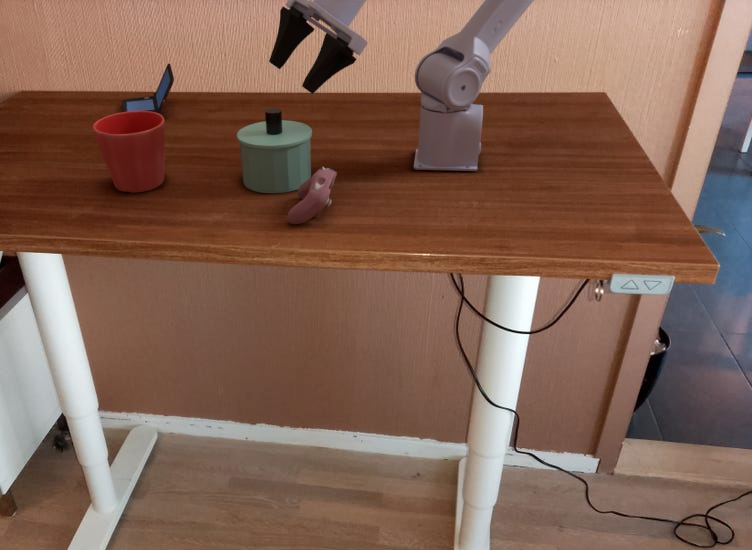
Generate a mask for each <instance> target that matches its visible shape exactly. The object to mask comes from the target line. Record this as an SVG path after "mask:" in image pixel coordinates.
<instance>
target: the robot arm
mask: <svg viewBox="0 0 752 550" xmlns="http://www.w3.org/2000/svg"><path fill="white" fill-rule="evenodd" d="M534 1H535V0H484V1H483V2H482V4H481V5H480V6H479V7H478V9H477V10H476V11H475V13H474V14H473V15H472V16H471V18H470V19H469V20H468V21H467V23H466V24H465V25H464V27H463V28H462V29H461V31H459V32H457V33H455V34H453V35H451V36H449V37H447V38H445V39H443V40H442V41H441V42H440V44H439V45H438V46H437V47H436V48H435V49H434V50H433V51H431V52H429V53H427V54H425V55H424V56H422V58H421V59H420V61H419V62H418V63H417V65H416V67H415V71H414V82H415V86H416V88H417V89H418V90H419V91H420V93H421V94H420V113H419V130H418V143H417V148H416V150H415V153H414V161H413V169H414V170H417V171H452V172H453V171H455V172H458V171H459V172H476V171H478V162H479V155H481V151H482V142H481V138H482V129H483V119H484V118H483V117H484V105H482V104H476V103H475V104H474V102H475V101H476V99H477V98H478V96H480V95H479V94H480V92H481V90H482V87H483V83H484V82H485V80H486V79H487V77H488V76H489V75H490V74H491V72H492V66H491V54H492V53H493V52H494V51H495V50H496V48H497V47H498V46H499V45H500V43H501V42H502V41H503V39H504V38H505V37H506V36H507V35H508V33H509V32H510V31H511V30H512V28H513V27H514V26H515V25H516V23H517V22H518V21H519V20H520V19H521V17H522V16H523V15H524V13H525V12H526V11H527V10H528V8H529V7H530V6H531V5H532V4H533V2H534ZM366 2H367V0H287V1H286V3H285V6H286V7H285V6H282V7H281V8H280V10H279V22H278V23H279V24H278V29H277V34H276V38H275V42H274V45H273V47H272V51H271V54H270V56H269V60H268V62H269V63H270V64H271V65H273V66H274V67H275V68H276V69H278V70H281V69H282V68H283V67H284V66H285V64H286V63H287V61H288V60H289V58H290V57H291V56H292V54H293V53H294V52H295V50H296V49H297V47H299V46H300V44H301V43H302V42H303V41H304V40H305V39H307V37H309V36H310V34H312V33H314V31H315V28H314V27H313V26H315V27H317V28H318V29H320V30H321V31H322V32H323V33H325V35H324V37H323V41H322V44H321V47H320V50H319V52H318V55H317V57H316V59H315V61H314V63H313V65H312V66H311V68H310V70H309V71H308V73H307V75H306V77H305V78H304V80H303V81H302V85H301V87H302V88H303V89H304V90H306V91H308V92H309V93H310V94H311V95H313V94H315V93H316V92H317V90H319V89H320V88H321V87H322V86H323V85H324V84H325V83H326V82H328V80H330V79H331V78H332V77H333V76H335V75H336V74H338V73H339V72H340V71H342V70H343V69H346V68H348V67H349V66H352V65H354V64H355V63H356V61H357V58H356V57H355V56H354V54H355V55H358V56H361V54H362V53H363V51H364V50H365V49H366V47H367V46H368V44H369V41H367V40H366V39H365V38H364V37H363V36H362V35H360V34H359V33H358V32H356V31H354V30H353V29H352V28H350V26H351V24H352V23H353V21H354V20H355V18H356V17H357V15H358V14H359V12H360V10H361V9H362V8H363V6H364V4H365V3H366ZM319 21H321V22H322V23H324V24H325V25H326V26H327V27H329V28H327V27H326V26H324V25H323V24H321V22H319ZM308 22H309V23H308ZM311 24H312V25H313V26H312V25H311ZM330 29H331V30H330Z"/></svg>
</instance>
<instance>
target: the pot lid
mask: <svg viewBox="0 0 752 550" xmlns="http://www.w3.org/2000/svg"><path fill="white" fill-rule="evenodd" d="M264 117H265V118H264V119H265V121H258V122H255V123H251V124H248V125H245V126H244V127H242V128H240V129H239V130H238V131H237V133H236V139H237V142H238V143H239V144H240V143H241V144H243V145H245V146H249V147H253V148H260V149H277V148H286V147H291V146H295V145H299V144H301V143H304V142H306V141H307V140H309V139H310V140H311V138H312V136H313V129H312V128H311V126H310V125H308V124H306V123H303V122H300V121H294V120H284V119H283V115H282V109H281V108H277V107H273V108H267V109H265V110H264Z"/></svg>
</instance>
